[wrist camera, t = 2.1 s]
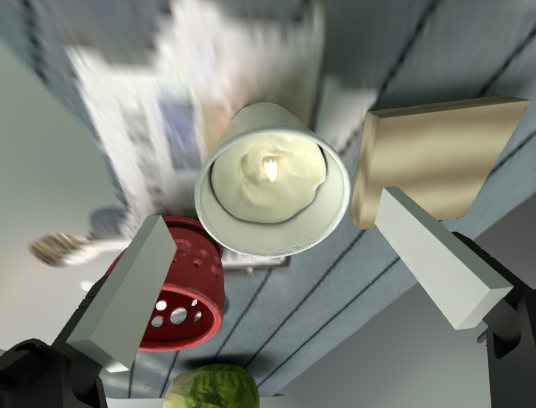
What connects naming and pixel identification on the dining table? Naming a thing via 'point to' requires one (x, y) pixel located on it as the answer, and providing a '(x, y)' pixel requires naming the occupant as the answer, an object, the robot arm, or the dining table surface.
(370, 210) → the plinth
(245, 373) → the lettuce
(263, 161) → the candle holder
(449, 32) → the dining table surface
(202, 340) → the plant pot
